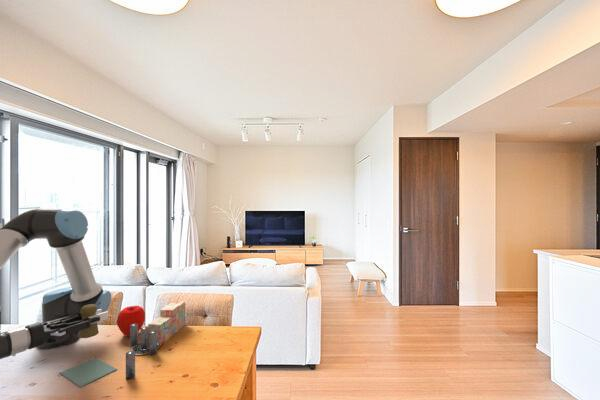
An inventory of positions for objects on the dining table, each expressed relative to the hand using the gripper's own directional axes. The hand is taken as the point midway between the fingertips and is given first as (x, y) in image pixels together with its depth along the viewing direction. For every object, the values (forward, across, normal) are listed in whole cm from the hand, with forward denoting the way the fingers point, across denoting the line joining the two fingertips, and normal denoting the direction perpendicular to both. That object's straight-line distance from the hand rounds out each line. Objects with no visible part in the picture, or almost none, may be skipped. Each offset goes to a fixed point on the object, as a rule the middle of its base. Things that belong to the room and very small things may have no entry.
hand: (104, 313), depth 114 cm
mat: (-5, 0, -20) cm, 21 cm away
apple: (+20, -16, -20) cm, 32 cm away
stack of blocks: (+29, -2, -20) cm, 35 cm away
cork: (-5, 0, -6) cm, 8 cm away
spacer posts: (+8, +6, -20) cm, 22 cm away
